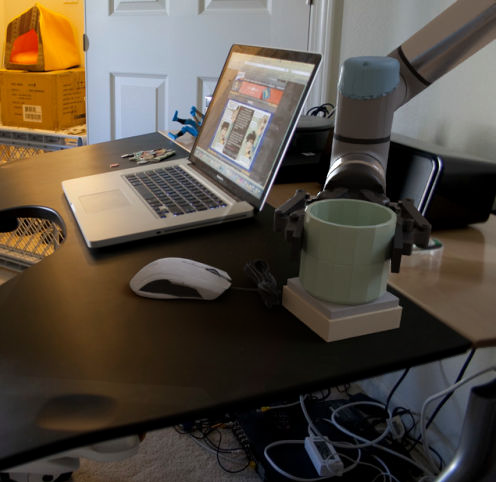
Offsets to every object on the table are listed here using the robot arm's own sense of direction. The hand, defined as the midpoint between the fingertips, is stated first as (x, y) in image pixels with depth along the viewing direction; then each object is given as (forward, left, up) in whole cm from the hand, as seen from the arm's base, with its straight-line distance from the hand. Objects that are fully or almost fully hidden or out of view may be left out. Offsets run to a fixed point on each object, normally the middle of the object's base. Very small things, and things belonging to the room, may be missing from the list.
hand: (344, 254), depth 65 cm
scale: (0, -5, -9) cm, 11 cm away
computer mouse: (+16, -6, -10) cm, 20 cm away
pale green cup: (0, -5, -6) cm, 8 cm away
